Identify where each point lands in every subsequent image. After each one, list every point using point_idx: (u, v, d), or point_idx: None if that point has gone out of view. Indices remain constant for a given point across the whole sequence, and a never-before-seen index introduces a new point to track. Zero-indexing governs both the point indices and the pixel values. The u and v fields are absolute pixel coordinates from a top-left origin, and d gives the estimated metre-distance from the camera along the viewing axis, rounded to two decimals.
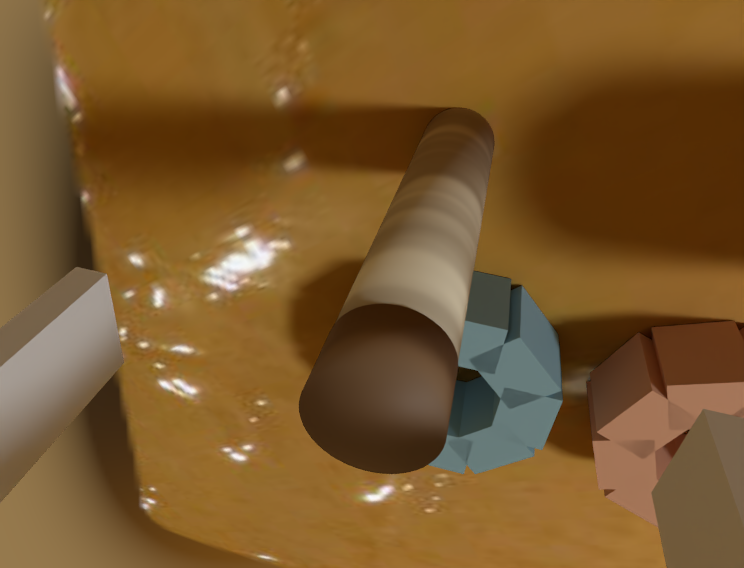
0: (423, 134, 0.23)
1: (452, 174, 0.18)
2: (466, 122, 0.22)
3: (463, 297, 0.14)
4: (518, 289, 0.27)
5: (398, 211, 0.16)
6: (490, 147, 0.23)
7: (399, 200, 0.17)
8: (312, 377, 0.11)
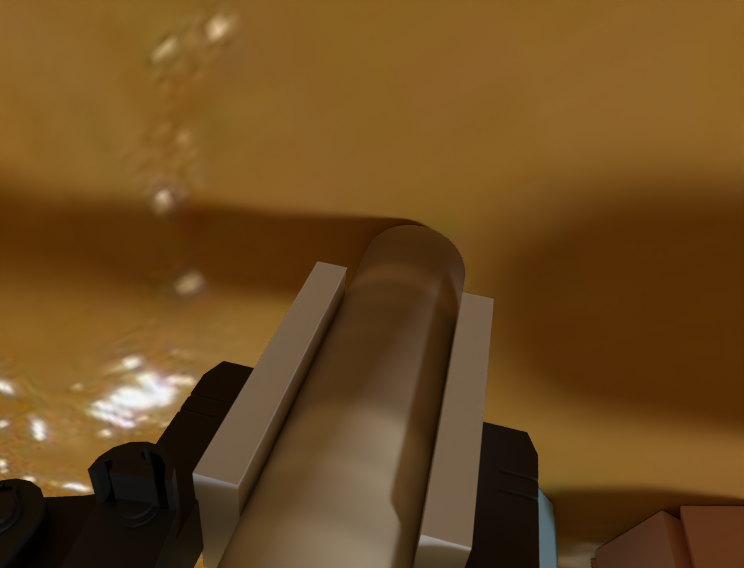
0: (359, 264, 0.16)
1: (378, 397, 0.10)
2: (420, 258, 0.15)
3: None
4: None
5: (264, 511, 0.09)
6: (456, 293, 0.15)
7: (277, 466, 0.09)
8: None
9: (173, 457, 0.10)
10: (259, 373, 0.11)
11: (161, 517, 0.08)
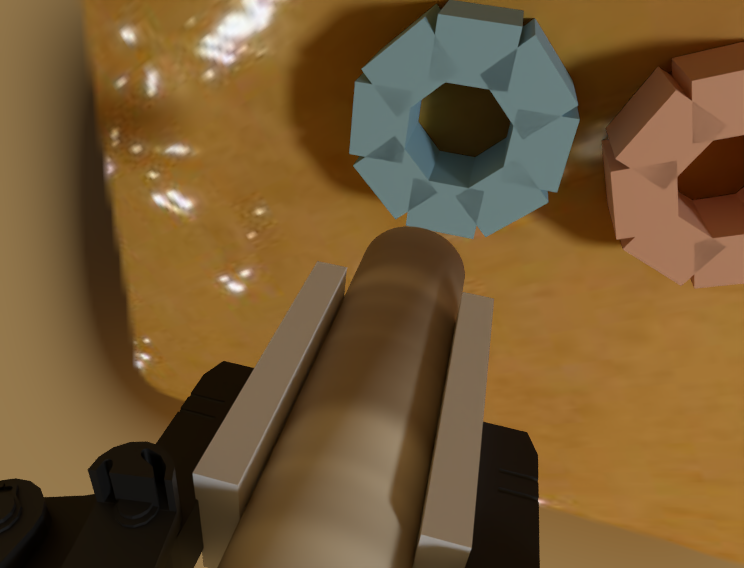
0: None
1: (378, 400, 0.10)
2: (419, 260, 0.14)
3: None
4: (530, 21, 0.26)
5: (263, 514, 0.09)
6: (456, 295, 0.15)
7: (276, 469, 0.09)
8: None
9: (173, 457, 0.10)
10: (259, 373, 0.11)
11: (161, 517, 0.08)
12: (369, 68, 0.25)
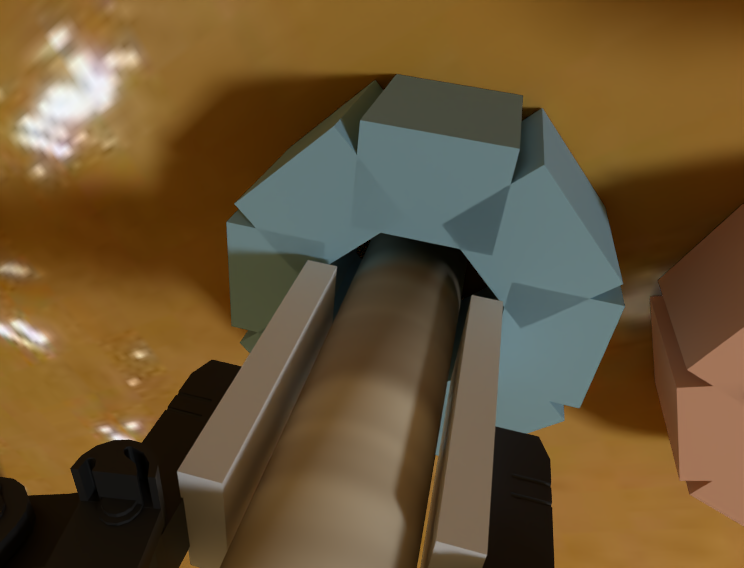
0: None
1: (388, 371, 0.11)
2: (425, 244, 0.15)
3: None
4: (535, 114, 0.15)
5: (283, 472, 0.09)
6: (459, 278, 0.15)
7: (294, 433, 0.10)
8: None
9: (159, 456, 0.10)
10: (246, 372, 0.11)
11: (145, 514, 0.08)
12: (248, 203, 0.14)
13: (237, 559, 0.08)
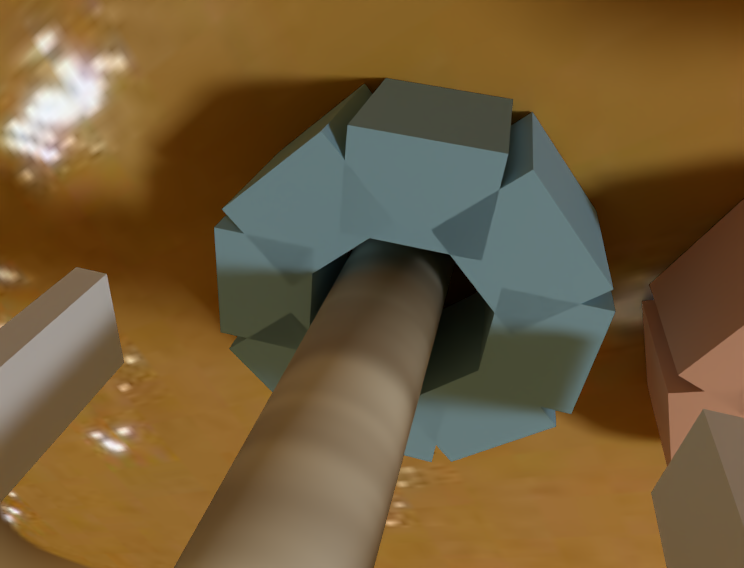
0: None
1: (366, 349, 0.12)
2: None
3: None
4: (525, 118, 0.15)
5: (261, 437, 0.10)
6: (446, 266, 0.16)
7: (274, 404, 0.11)
8: None
9: None
10: None
11: None
12: (235, 208, 0.14)
13: (214, 513, 0.09)
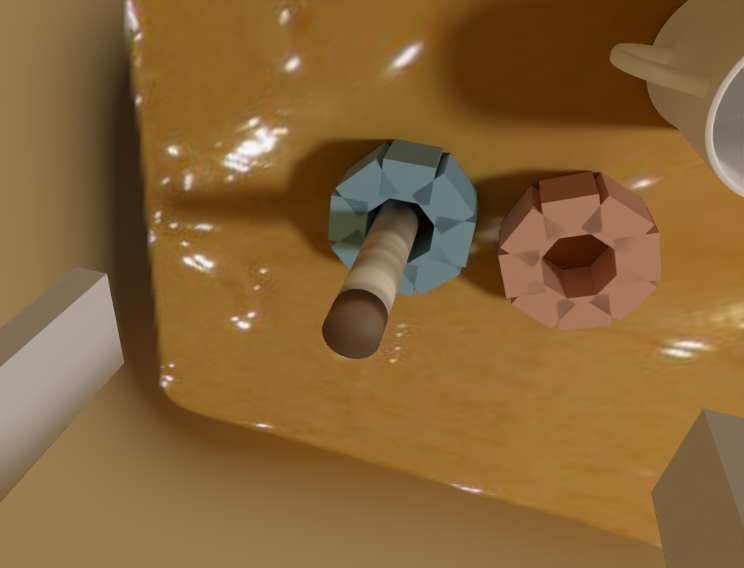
0: None
1: (393, 230, 0.36)
2: None
3: (392, 288, 0.32)
4: (447, 155, 0.39)
5: (365, 249, 0.34)
6: (419, 212, 0.41)
7: (366, 243, 0.35)
8: (328, 316, 0.29)
9: None
10: None
11: None
12: (340, 188, 0.38)
13: (356, 263, 0.33)
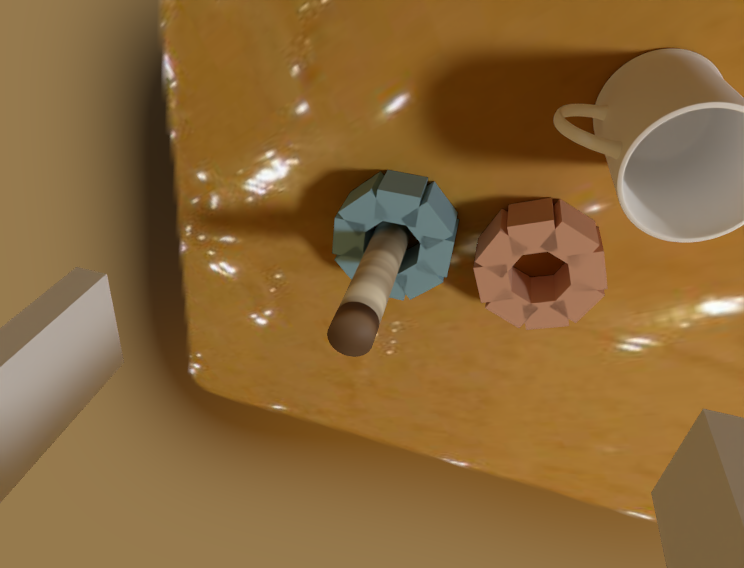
0: None
1: (385, 249, 0.44)
2: None
3: (383, 299, 0.40)
4: (431, 183, 0.47)
5: (362, 266, 0.42)
6: (408, 230, 0.48)
7: (363, 261, 0.43)
8: (332, 323, 0.37)
9: None
10: None
11: None
12: (342, 212, 0.46)
13: (355, 278, 0.41)
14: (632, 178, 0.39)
